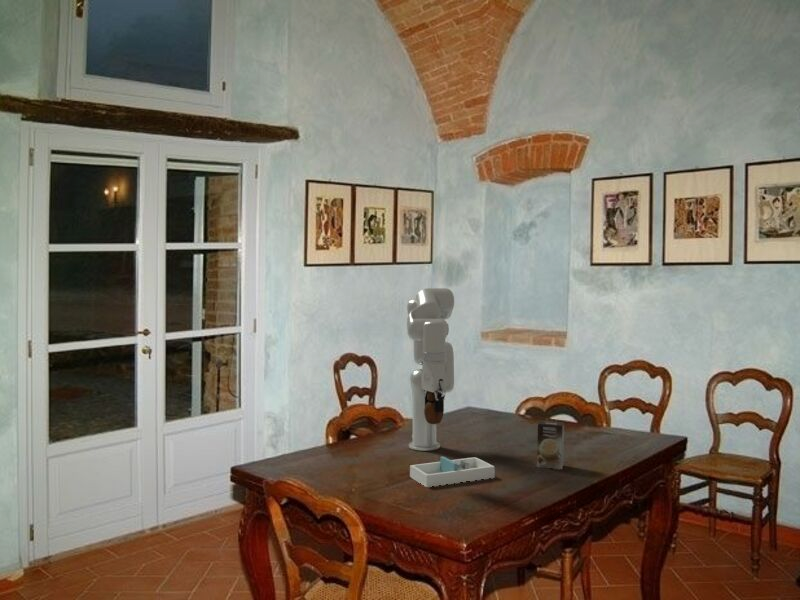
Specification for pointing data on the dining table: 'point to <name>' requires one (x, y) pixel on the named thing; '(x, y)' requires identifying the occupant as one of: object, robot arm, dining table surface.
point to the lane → (451, 472)
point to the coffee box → (550, 444)
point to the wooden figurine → (432, 410)
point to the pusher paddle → (452, 465)
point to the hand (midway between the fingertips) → (434, 409)
